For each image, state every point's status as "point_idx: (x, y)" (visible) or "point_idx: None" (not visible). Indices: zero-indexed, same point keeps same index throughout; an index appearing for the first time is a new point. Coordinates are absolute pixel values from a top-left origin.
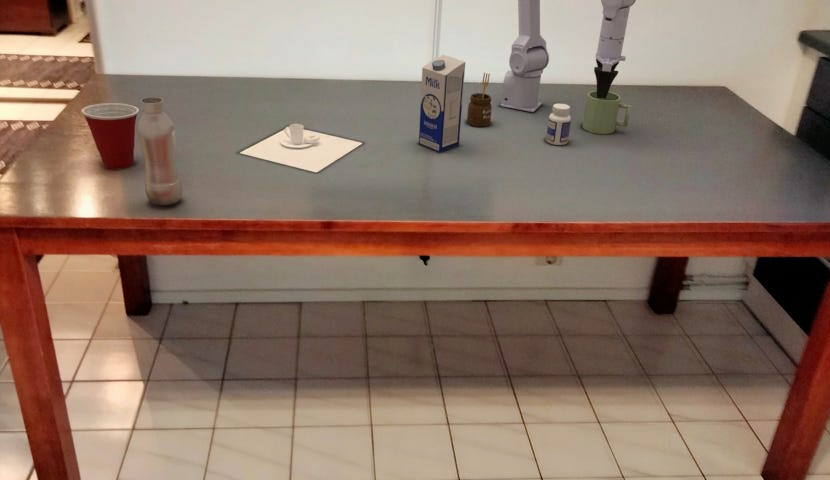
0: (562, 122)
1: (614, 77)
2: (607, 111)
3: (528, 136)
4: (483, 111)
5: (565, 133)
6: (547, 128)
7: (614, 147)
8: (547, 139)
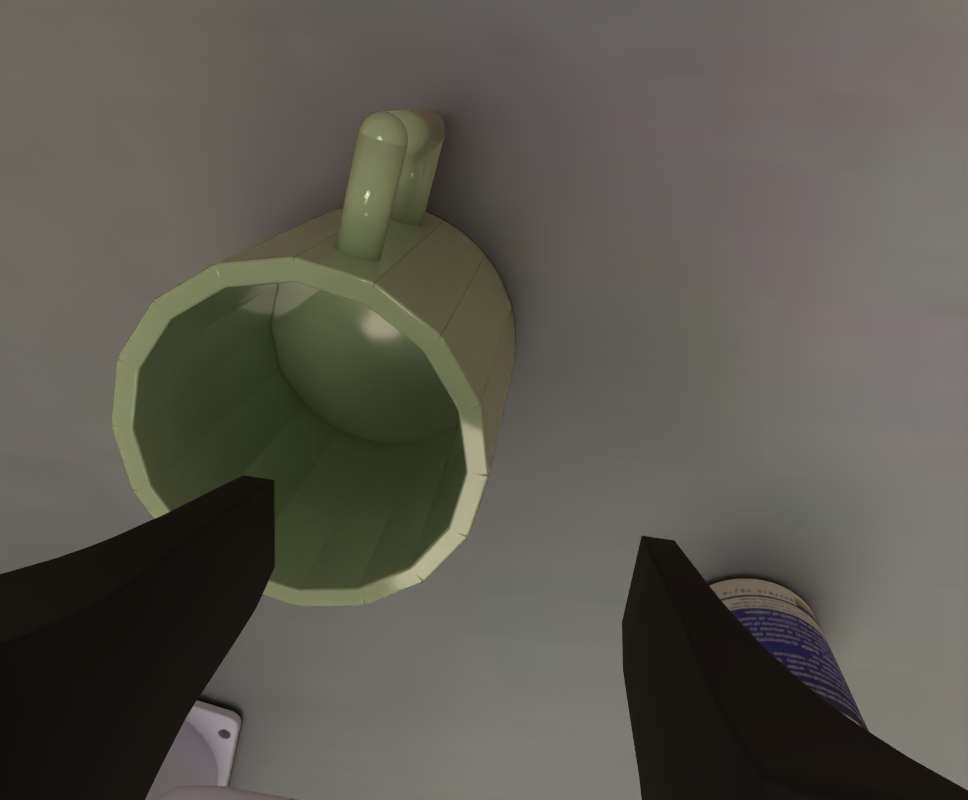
0: None
1: (923, 776)
2: (493, 373)
3: None
4: None
5: (836, 662)
6: None
7: (807, 247)
8: None
